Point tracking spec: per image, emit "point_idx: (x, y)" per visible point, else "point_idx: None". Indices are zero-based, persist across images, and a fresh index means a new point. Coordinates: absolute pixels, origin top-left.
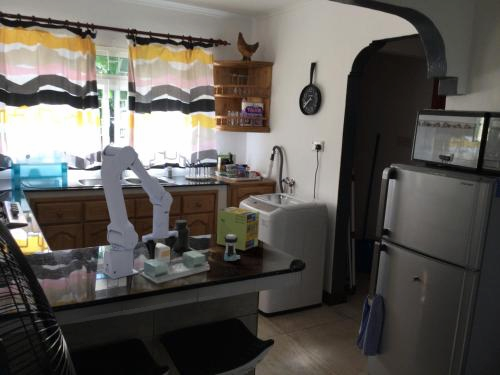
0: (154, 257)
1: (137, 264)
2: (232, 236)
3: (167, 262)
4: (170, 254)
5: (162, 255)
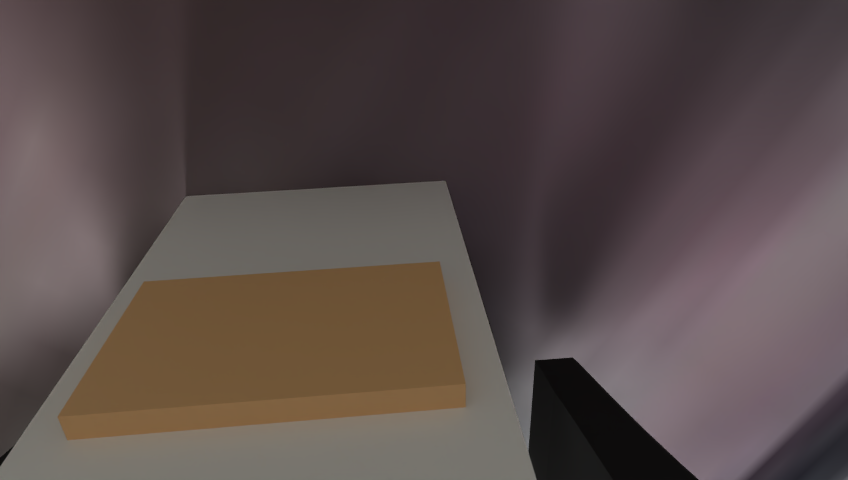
0: (560, 387)
1: (772, 394)
2: None
3: (253, 196)
4: None
5: (431, 288)
